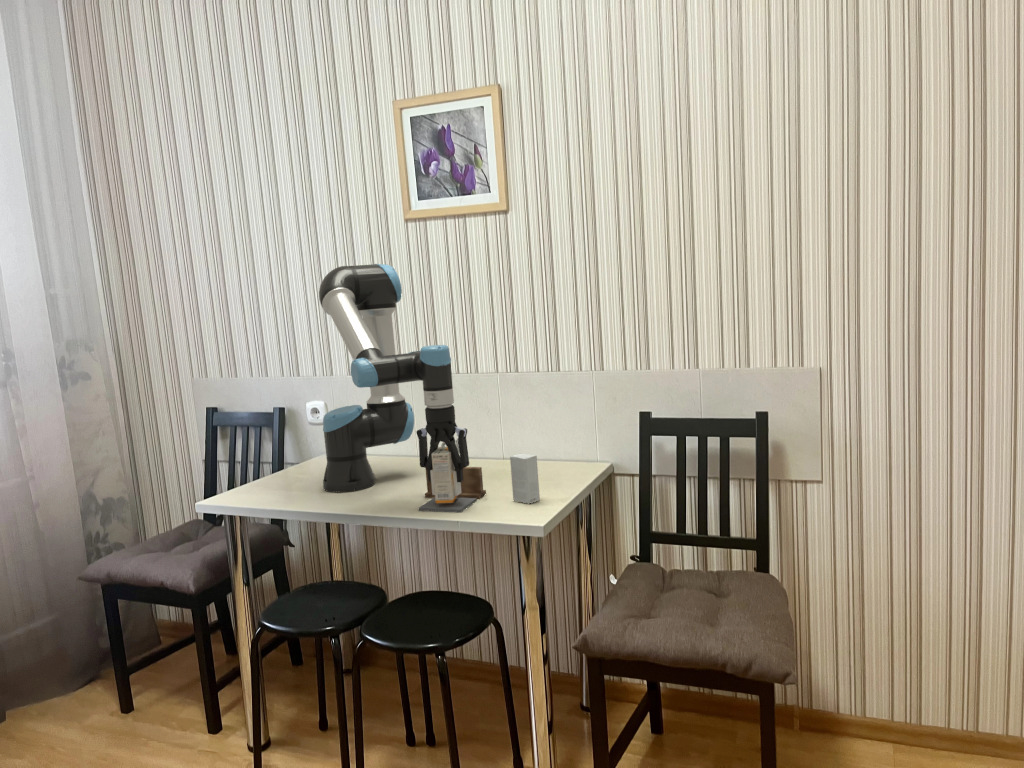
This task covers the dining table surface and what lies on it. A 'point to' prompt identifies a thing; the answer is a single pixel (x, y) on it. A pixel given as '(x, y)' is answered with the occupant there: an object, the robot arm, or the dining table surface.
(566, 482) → the dining table surface
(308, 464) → the dining table surface
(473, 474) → the stepped wooden ledge
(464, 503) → the pad
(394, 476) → the dining table surface
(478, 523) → the dining table surface
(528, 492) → the skincare box
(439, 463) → the supplement box
